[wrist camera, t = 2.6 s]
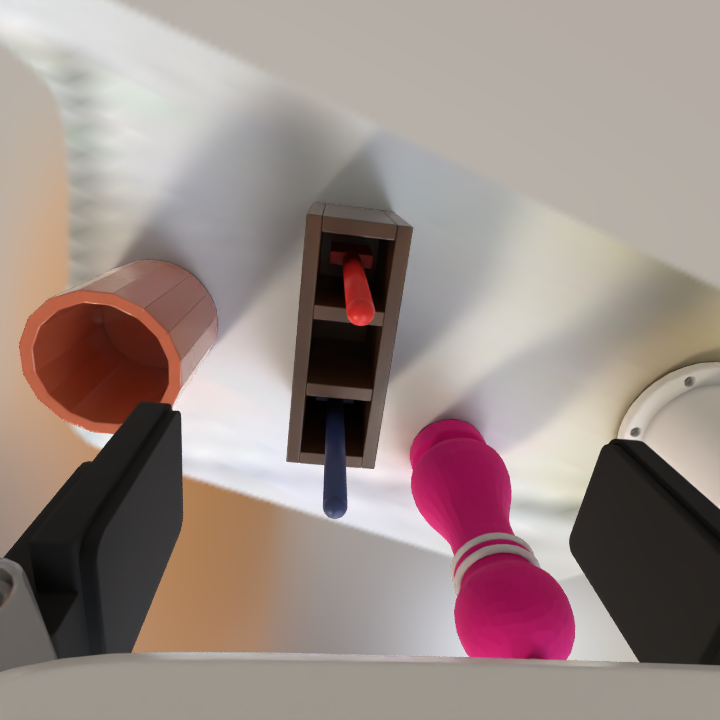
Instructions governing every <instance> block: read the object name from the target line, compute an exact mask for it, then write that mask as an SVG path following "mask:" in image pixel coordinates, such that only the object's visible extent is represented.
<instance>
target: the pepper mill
mask: <svg viewBox="0 0 720 720" xmlns="http://www.w3.org/2000/svg"><path fill="white" fill-rule="evenodd" d="M410 460H411V465H412V469H413V473H412V477H411V489H412V494H413V497H414V500H415V503H416V505H417V508H418V509H419V511H420V513H421V514H422V516H423V517H424V518H425V520H426V521H427V522H428V523H429V525H430V526H431V527H433V528H434V529H435V530H436V531H437V532H438V533H439V534H441V535H442V536H443V537H444V538H445V539H446V540H447V541H448V543H449V544H450V546H451V548H452V551H453V553H454V558H453V560H452V564H451V570H450V573H451V578H452V581H453V583H454V589H455V592H456V594H457V599H456V603H455V610H454V615H455V624H456V629H457V634H458V636H459V639H460V641H461V644H462V646H463V647H464V649H465V651H466V653H467V655H468V656H469V657H474V658H510V659H544V660H567V658H568V656H569V655H570V653H571V650H572V647H573V643H574V639H575V622H574V616H573V612H572V609H571V606H570V603H569V601H568V598H567V596H566V594H565V593H564V591H563V589H562V588H561V586H560V585H559V584H558V583H557V581H556V580H555V579H554V578H553V577H552V576H551V575H550V574H549V573H547V572H546V571H544V570H542V569H541V568H540V565H539V563H538V561H537V559H536V558H535V556H534V553H533V551H532V549H531V548H530V546H529V545H528V544H527V543H526V542H525V541H524V540H523V539H521V538H519V537H517V536H515V535H514V533H513V531H512V529H511V526H510V523H509V511H510V504H511V484H510V477H509V474H508V471H507V469H506V466H505V464H504V462H503V460H502V458H501V457H500V456H499V454H498V453H497V452H496V451H495V450H494V449H493V448H491V447H490V446H488V445H487V444H486V443H485V441H484V439H483V437H482V435H481V434H480V432H479V431H478V430H477V429H476V428H475V427H473V426H472V425H470V424H468V423H467V422H463V421H460V420H452V419H450V420H443V421H438V422H436V423H433V424H431V425H429V426H427V427H426V428H424V429H423V430H422V431H421V432H420V433H419V434H418V435H417V437H416V438H415V439H414V442H413V444H412V446H411V450H410Z"/></svg>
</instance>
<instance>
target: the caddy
mask: <svg viewBox="0 0 720 720" xmlns="http://www.w3.org/2000/svg"><path fill="white" fill-rule="evenodd" d="M412 232H413V227H412V226H411V225H409V224H408V223H407V222H406V221H404V220H403V219H402V218H400V217H399V216H398V215H396V214H395V213H394V212H390V211H382V210H374V209H367V208H359V207H351V206H343V205H336V204H328V203H320V202H314V203H313V205H312V207H311V208H310V210H309V211H308V213H307V215H306V227H305V239H304V252H303V264H302V276H301V288H300V300H299V312H298V325H297V337H296V349H295V361H294V373H293V385H292V398H291V410H290V422H289V434H288V446H287V458H286V461H287V462H295V463H299V462H300V463H305V464H318V465H325V438H326V410H327V401H316V400H315V398H316V396H320V397H331V398H342V399H353V400H354V403H353V404H349V403H344V427H345V456H346V467H356V468H361V467H362V468H369V469H374V466H375V460H376V453H377V447H378V441H379V435H380V429H381V423H382V416H383V410H384V404H385V398H386V392H387V386H388V379H389V373H390V367H391V361H392V355H393V349H394V343H395V336H396V330H397V324H398V318H399V312H400V306H401V299H402V293H403V287H404V281H405V275H406V269H407V262H408V256H409V250H410V244H411V238H412ZM331 241H335V242H343V243H351V244H360V245H368V246H370V249H371V251H372V253H373V256H374V259H373V266H372V269H369V268H364V272H365V275H366V279H367V283H368V286H369V290H370V293H371V297H372V300H373V304H374V308H375V315H374V318H373V320H372V321H371V322H370V323H369V324H367V325H364V326H357V325H355V324H353V323H351V322H350V320H349V319H348V317H347V313H346V300H345V287H344V274H343V265H335V264H330V263H329V261H330V248H331Z"/></svg>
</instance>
